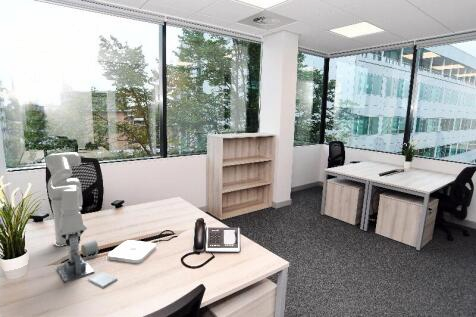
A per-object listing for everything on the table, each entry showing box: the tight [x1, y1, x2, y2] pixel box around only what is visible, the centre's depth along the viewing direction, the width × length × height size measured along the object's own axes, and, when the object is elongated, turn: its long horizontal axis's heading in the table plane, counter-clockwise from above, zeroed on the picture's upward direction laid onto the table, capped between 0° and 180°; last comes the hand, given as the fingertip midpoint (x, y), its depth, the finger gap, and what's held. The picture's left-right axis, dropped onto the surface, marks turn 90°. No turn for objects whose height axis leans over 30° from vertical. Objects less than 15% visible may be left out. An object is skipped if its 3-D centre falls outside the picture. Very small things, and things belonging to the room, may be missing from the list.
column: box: [67, 232, 80, 263], centre depth 149 cm, size 6×4×15 cm, turn 44°
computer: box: [107, 239, 157, 264], centre depth 173 cm, size 22×22×3 cm
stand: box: [56, 252, 95, 284], centre depth 151 cm, size 18×14×12 cm
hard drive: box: [87, 271, 118, 289], centre depth 144 cm, size 2×8×12 cm
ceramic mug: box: [80, 240, 99, 259], centre depth 168 cm, size 11×8×8 cm
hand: (73, 243), depth 149 cm, fingers closed on column, 4 cm apart
